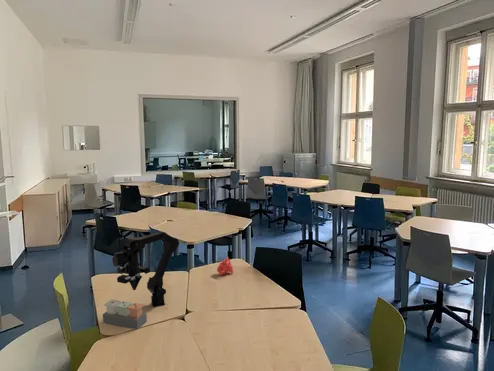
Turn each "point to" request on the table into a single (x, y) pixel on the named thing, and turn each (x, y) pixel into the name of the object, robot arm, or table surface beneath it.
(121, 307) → the key two dots
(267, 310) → the table surface
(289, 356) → the table surface
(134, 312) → the key three dots
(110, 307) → the key one dot
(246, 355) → the table surface
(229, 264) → the anatomical heart
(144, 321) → the key console
